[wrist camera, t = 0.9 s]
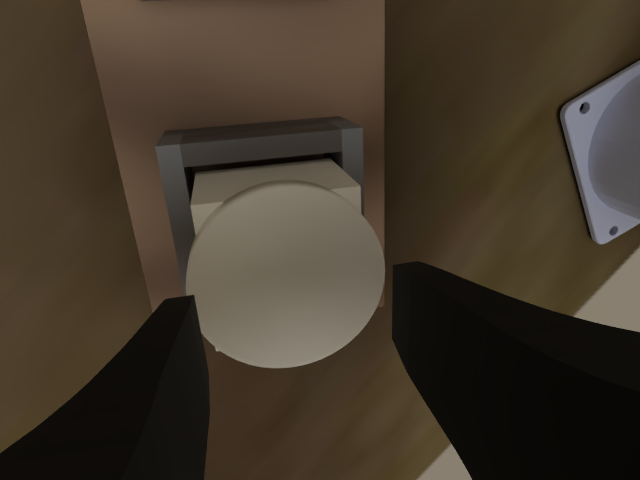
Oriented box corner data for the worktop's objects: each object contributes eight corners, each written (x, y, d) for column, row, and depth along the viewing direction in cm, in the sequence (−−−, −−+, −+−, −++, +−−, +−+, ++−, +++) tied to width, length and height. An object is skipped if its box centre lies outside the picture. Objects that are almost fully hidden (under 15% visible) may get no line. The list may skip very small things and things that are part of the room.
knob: (180, 161, 14) (167, 201, 10) (341, 145, 15) (385, 176, 11) (206, 304, 16) (203, 383, 12) (346, 283, 17) (384, 350, 13)
